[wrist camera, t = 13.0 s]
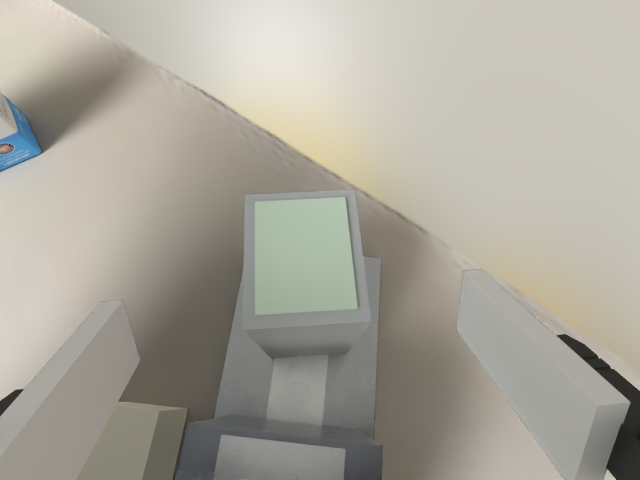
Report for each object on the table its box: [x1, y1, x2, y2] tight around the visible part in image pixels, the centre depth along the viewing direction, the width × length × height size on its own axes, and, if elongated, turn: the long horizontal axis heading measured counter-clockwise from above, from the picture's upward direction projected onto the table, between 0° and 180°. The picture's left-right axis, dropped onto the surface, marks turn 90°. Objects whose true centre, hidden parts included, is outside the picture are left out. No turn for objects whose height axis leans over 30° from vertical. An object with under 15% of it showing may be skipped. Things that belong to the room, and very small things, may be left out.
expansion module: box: [243, 189, 371, 359], centre depth 20 cm, size 5×6×11 cm
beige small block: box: [76, 402, 188, 480], centre depth 21 cm, size 4×5×5 cm
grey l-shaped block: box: [175, 256, 383, 480], centre depth 20 cm, size 10×21×10 cm, turn 174°
